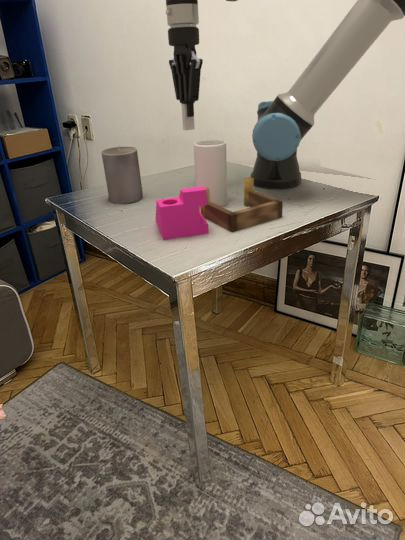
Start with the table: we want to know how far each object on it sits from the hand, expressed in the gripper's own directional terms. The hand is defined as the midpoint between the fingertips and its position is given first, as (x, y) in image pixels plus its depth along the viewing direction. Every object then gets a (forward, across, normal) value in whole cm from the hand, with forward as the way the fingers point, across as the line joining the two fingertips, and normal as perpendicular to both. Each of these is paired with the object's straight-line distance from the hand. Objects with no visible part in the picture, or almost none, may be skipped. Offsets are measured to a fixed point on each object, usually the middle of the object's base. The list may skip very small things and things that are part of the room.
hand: (188, 129), depth 108 cm
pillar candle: (+18, -9, -17) cm, 26 cm away
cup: (+18, +10, 0) cm, 21 cm away
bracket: (+18, +20, -15) cm, 31 cm away
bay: (+18, +23, 0) cm, 29 cm away
